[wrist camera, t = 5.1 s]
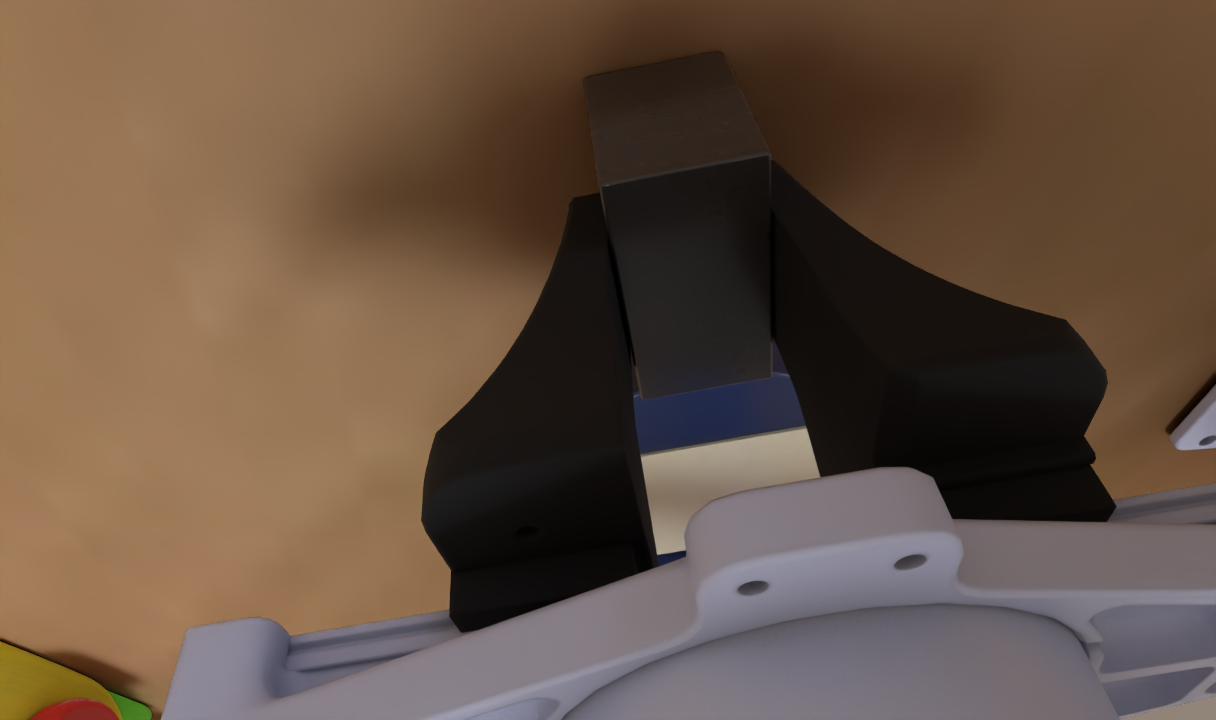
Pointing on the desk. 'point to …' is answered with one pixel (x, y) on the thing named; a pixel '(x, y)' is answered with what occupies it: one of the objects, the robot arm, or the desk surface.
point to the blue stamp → (695, 286)
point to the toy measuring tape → (56, 692)
